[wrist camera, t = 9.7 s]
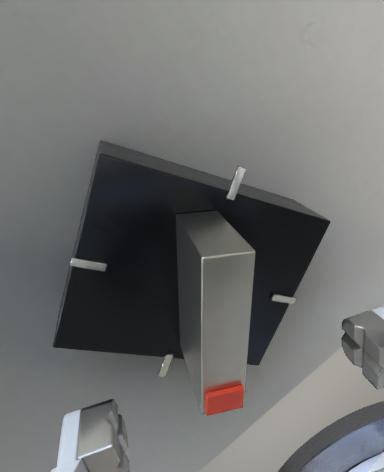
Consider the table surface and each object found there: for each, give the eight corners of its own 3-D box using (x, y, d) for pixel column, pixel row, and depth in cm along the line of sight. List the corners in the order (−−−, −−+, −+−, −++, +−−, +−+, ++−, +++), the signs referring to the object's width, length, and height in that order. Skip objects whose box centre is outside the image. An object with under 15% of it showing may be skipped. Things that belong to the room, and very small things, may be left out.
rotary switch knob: (175, 214, 14) (204, 261, 10) (216, 209, 14) (259, 254, 10) (179, 345, 16) (203, 420, 13) (214, 338, 17) (246, 409, 13)
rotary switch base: (303, 181, 19) (345, 201, 15) (231, 339, 22) (254, 382, 19) (103, 114, 15) (104, 122, 11) (54, 319, 18) (44, 369, 15)
